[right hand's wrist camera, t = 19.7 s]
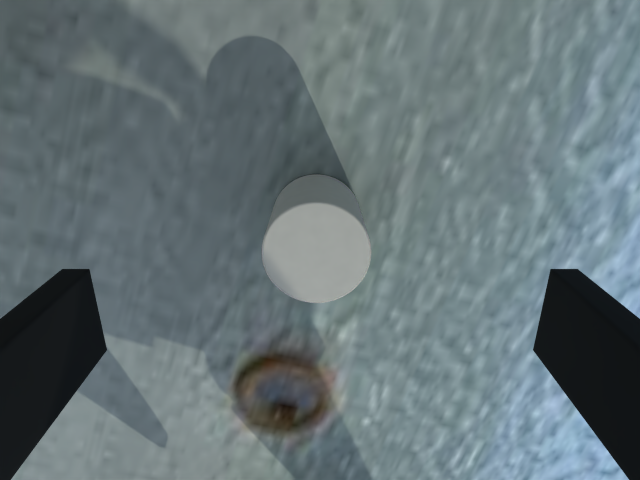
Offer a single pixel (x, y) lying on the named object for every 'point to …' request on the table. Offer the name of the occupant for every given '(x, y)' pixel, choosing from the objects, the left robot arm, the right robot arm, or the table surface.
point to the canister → (316, 240)
